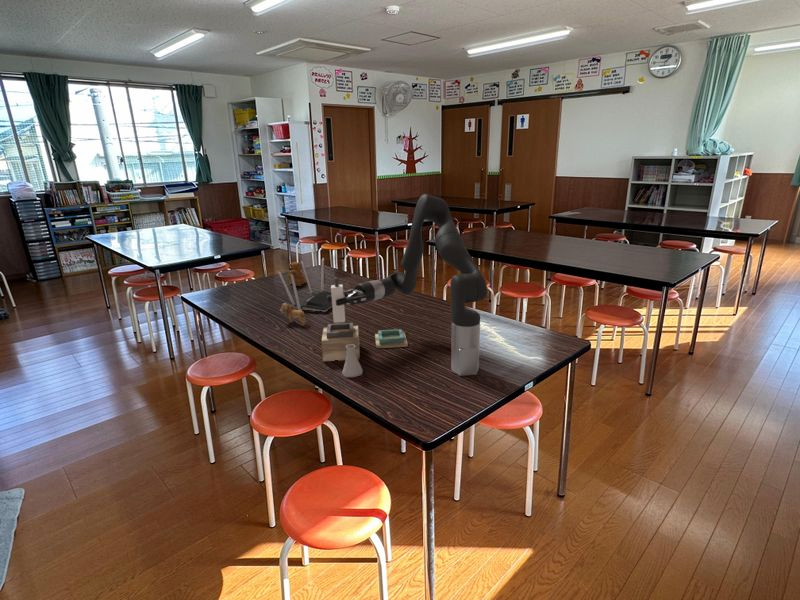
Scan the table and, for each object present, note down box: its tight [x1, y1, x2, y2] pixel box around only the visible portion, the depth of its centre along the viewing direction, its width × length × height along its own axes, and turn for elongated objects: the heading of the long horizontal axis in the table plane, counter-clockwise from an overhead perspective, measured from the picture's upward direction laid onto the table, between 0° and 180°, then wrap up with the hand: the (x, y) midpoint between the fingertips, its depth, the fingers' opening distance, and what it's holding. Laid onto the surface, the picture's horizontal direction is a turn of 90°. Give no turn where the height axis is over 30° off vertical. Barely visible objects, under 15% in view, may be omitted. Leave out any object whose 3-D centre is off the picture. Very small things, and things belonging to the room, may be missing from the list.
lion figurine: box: [279, 302, 312, 326], centre depth 196 cm, size 15×5×9 cm, turn 67°
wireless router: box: [277, 257, 333, 313], centre depth 220 cm, size 34×23×20 cm
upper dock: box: [321, 322, 361, 362], centre depth 166 cm, size 13×13×10 cm
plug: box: [330, 277, 346, 324], centre depth 161 cm, size 4×4×16 cm
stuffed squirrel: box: [286, 261, 307, 287], centre depth 255 cm, size 10×14×13 cm
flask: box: [341, 344, 364, 378], centre depth 150 cm, size 7×7×10 cm
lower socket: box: [374, 328, 409, 349], centre depth 176 cm, size 12×12×3 cm
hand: (332, 301), depth 159 cm, fingers closed on plug, 5 cm apart
